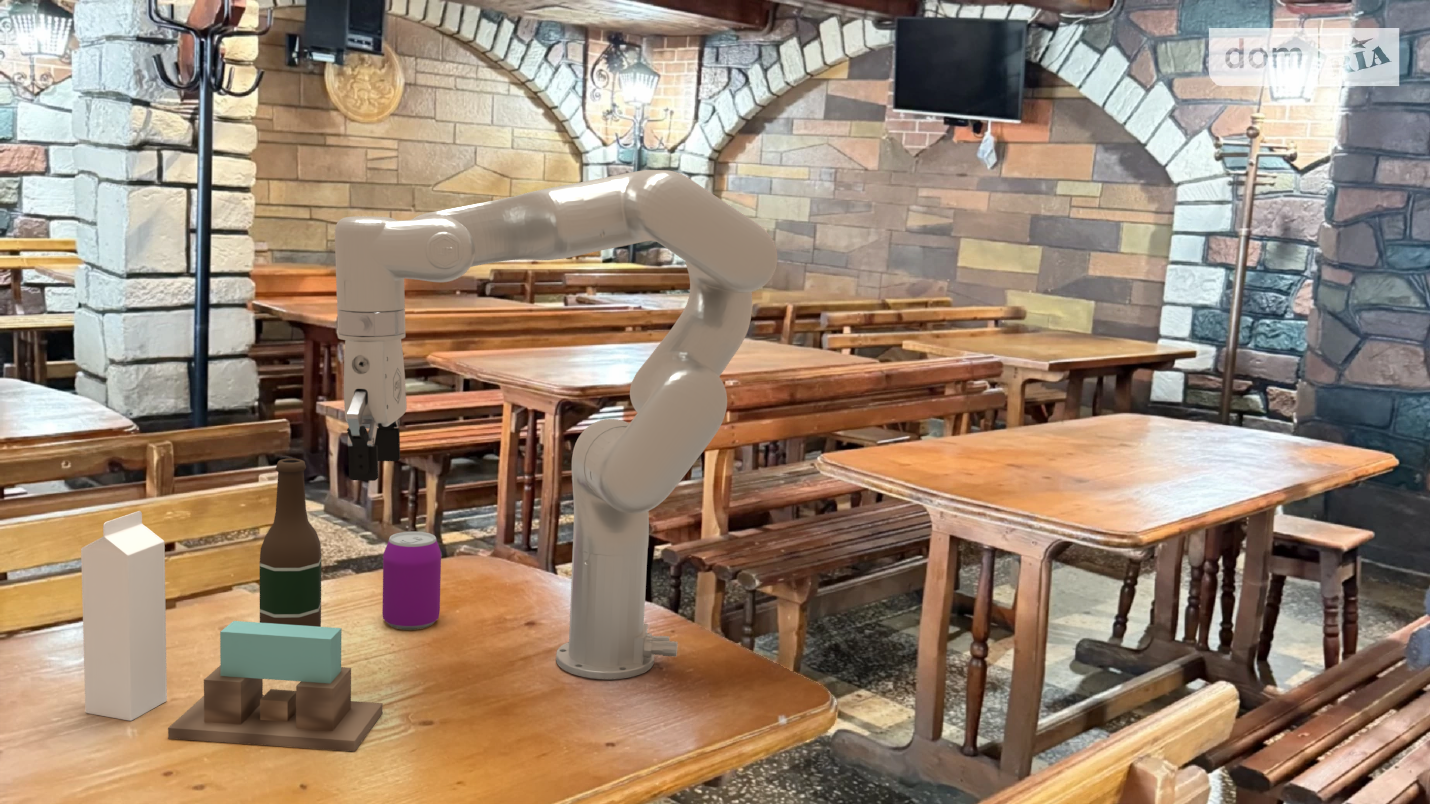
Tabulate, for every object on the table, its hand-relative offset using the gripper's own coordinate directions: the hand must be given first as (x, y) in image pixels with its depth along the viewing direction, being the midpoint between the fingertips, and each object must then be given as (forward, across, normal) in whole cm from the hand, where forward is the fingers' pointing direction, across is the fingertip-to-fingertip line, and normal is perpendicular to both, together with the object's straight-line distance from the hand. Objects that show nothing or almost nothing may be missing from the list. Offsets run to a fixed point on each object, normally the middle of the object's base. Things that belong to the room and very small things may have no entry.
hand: (375, 469), depth 147 cm
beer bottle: (+26, +11, +15) cm, 32 cm away
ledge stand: (+26, -14, +8) cm, 30 cm away
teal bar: (+20, -14, +7) cm, 25 cm away
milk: (+25, -11, +25) cm, 38 cm away
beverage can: (+27, +21, +2) cm, 34 cm away
